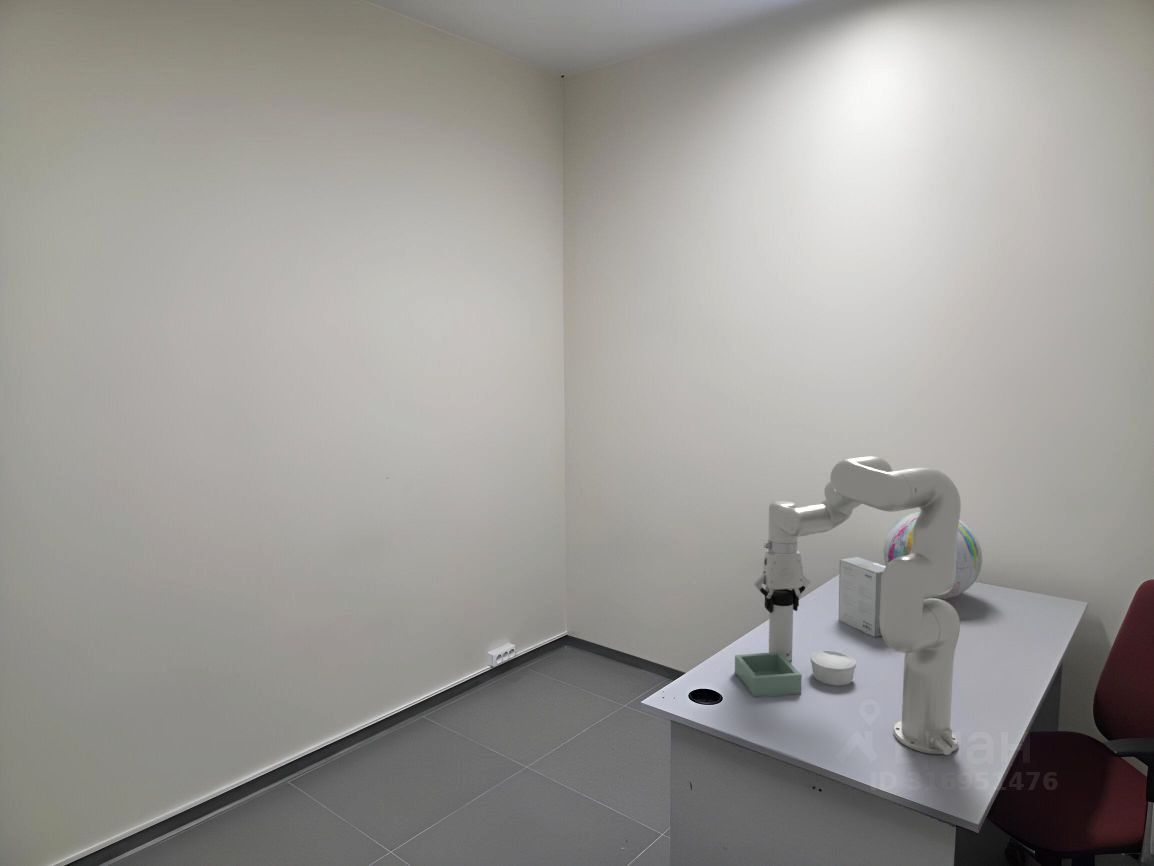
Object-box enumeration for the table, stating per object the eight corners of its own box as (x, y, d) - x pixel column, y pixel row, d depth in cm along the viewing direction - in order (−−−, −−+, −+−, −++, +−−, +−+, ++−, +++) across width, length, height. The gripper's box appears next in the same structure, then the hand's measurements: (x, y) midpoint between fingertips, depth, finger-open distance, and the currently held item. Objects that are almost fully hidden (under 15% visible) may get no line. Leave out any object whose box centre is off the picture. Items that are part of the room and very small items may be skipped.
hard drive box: (894, 633, 208) (896, 569, 206) (874, 638, 205) (876, 573, 203) (855, 616, 222) (857, 555, 220) (837, 619, 219) (838, 558, 217)
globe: (863, 588, 247) (865, 506, 244) (930, 578, 256) (933, 499, 253) (928, 618, 219) (932, 526, 215) (1001, 606, 228) (1006, 517, 224)
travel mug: (794, 666, 188) (796, 595, 186) (769, 664, 189) (770, 593, 187) (792, 656, 194) (793, 587, 192) (767, 654, 195) (769, 586, 193)
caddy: (801, 693, 173) (801, 674, 172) (753, 697, 171) (753, 678, 171) (779, 669, 186) (779, 651, 186) (734, 673, 185) (734, 655, 184)
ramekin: (854, 671, 184) (855, 653, 184) (856, 691, 174) (857, 671, 173) (810, 666, 188) (811, 647, 187) (809, 685, 178) (810, 665, 177)
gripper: (757, 552, 183) (756, 617, 185) (819, 548, 185) (817, 613, 187) (747, 544, 191) (746, 607, 193) (806, 541, 193) (805, 603, 195)
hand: (781, 609), depth 190 cm, fingers closed on travel mug, 6 cm apart
